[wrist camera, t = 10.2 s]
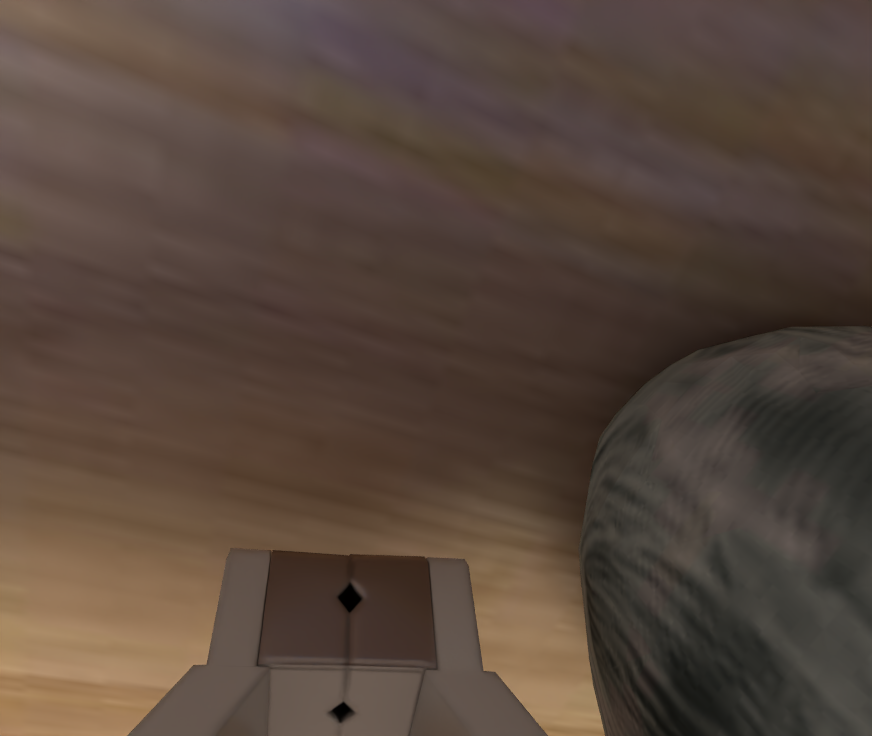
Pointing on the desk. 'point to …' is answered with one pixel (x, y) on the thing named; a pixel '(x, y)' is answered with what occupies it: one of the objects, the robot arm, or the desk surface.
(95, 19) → the desk surface
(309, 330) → the desk surface
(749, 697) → the ribbed grey ovoid
